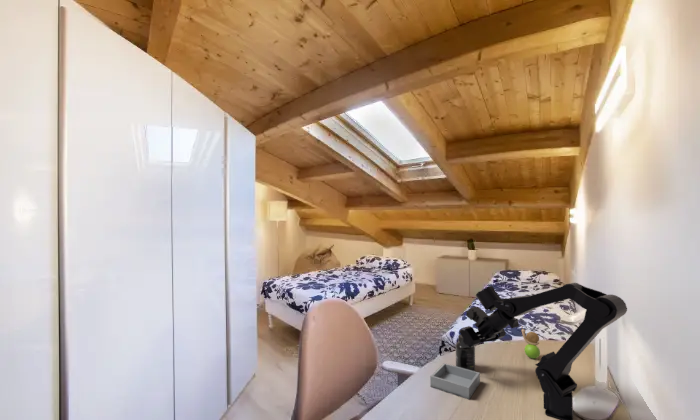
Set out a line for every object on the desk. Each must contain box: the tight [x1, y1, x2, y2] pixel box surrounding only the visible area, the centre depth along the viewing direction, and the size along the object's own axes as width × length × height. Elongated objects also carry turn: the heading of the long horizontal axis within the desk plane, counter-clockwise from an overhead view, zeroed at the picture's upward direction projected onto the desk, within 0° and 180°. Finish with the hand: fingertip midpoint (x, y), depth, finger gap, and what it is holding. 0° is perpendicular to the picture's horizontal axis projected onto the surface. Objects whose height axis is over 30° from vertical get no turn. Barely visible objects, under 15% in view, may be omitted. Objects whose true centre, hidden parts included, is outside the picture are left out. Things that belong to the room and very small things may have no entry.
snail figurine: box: [521, 325, 541, 360], centre depth 128 cm, size 5×6×12 cm
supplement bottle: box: [455, 334, 476, 372], centre depth 118 cm, size 7×7×12 cm
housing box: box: [430, 362, 481, 400], centre depth 106 cm, size 12×12×4 cm
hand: (469, 344), depth 117 cm, fingers open, 9 cm apart
